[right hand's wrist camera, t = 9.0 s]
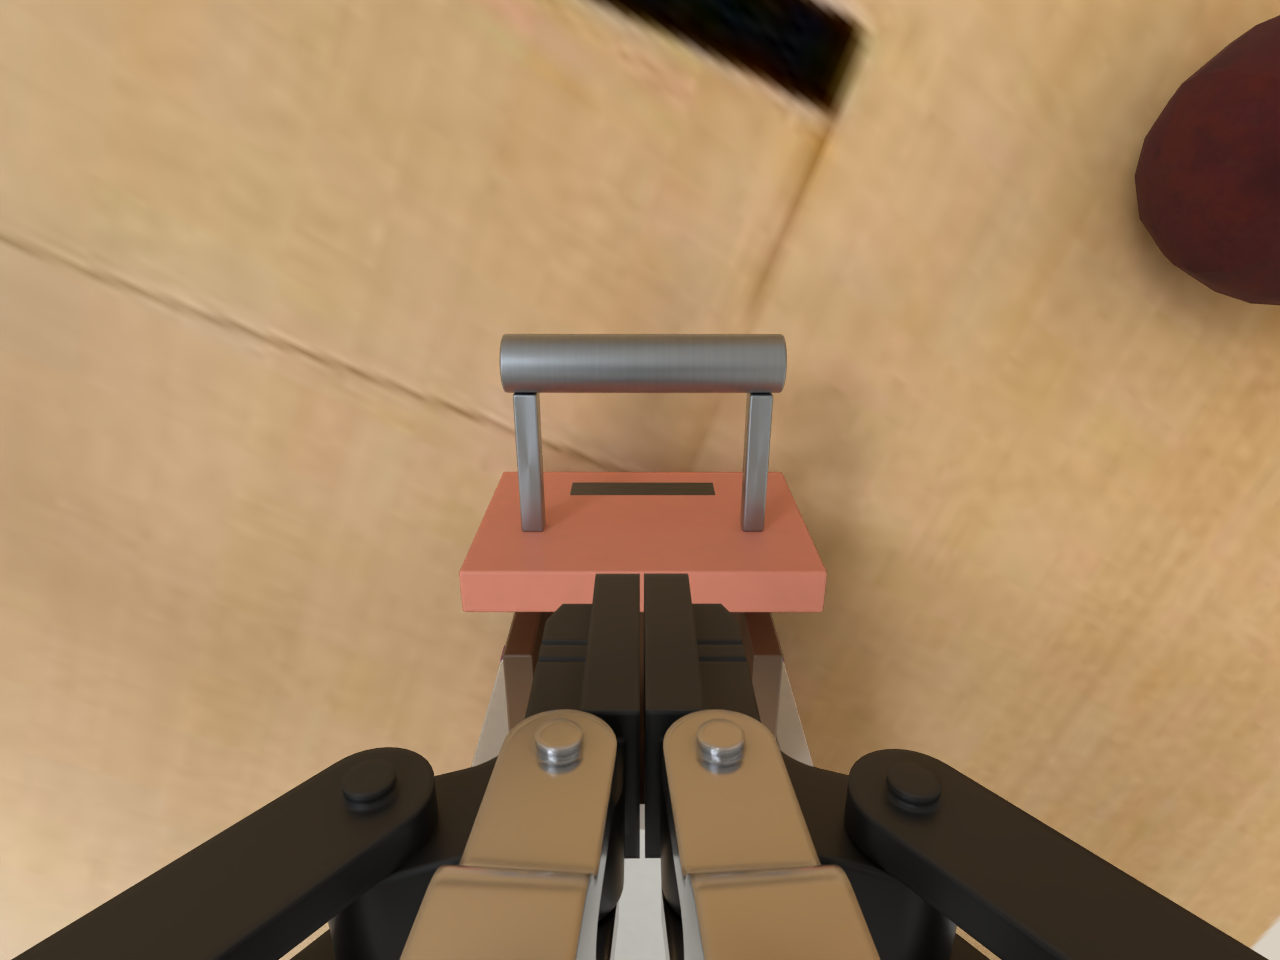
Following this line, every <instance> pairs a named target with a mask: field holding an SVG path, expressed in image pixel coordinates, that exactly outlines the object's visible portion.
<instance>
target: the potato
mask: <svg viewBox="0 0 1280 960" xmlns="http://www.w3.org/2000/svg"><path fill="white" fill-rule="evenodd" d="M1135 183H1136V192H1137V200H1138V209H1139V215H1140V220H1141V221H1142V223H1143V224H1144V226H1145V227H1146V229H1147V230H1148V232H1149V233H1150V235H1151V236H1152V238H1153V239H1154V241H1155V242H1156V244H1157V246H1158V247H1159V249H1160V250H1161V252H1162V253H1163V254H1164V255H1165V256H1166V257H1167V258H1168V259H1169V260H1170V261H1171V262H1172V263H1173V264H1174V265H1175V266H1177V267H1178V268H1180V269H1181V270H1183V271H1184V272H1186V273H1187V274H1189V275H1190V276H1192V277H1194V278H1195V279H1197V280H1198V281H1200V282H1201V283H1203V284H1204V285H1206V286H1207V287H1209V288H1210V289H1212V290H1213V291H1215V292H1218V293H1221V294H1224V295H1227V296H1230V297H1233V298H1236V299H1239V300H1242V301H1245V302H1248V303H1255V304H1270V305H1280V15H1279V16H1277V17H1275V18H1272V19H1270V20H1268V21H1265V22H1263V23H1261V24H1258V25H1256V26H1255V27H1253V28H1252V29H1250V30H1249V31H1247V32H1246V33H1245V34H1243V35H1242V36H1240V37H1239V38H1237V39H1236V40H1235V41H1233V42H1232V43H1230V44H1229V45H1228V46H1227V47H1225V48H1224V49H1223V50H1222V51H1221V52H1219V53H1218V54H1217V55H1216V56H1215V57H1214V58H1212V59H1211V60H1210V61H1209V62H1208V63H1206V64H1205V65H1204V66H1203V67H1202V68H1200V69H1199V70H1198V71H1197V72H1196V73H1194V74H1193V75H1192V76H1191V77H1190V78H1188V79H1187V80H1186V81H1185V82H1184V83H1182V84H1181V86H1180V87H1179V88H1178V90H1177V91H1176V92H1175V94H1174V95H1173V97H1172V98H1171V99H1170V101H1169V102H1168V104H1167V105H1166V107H1165V108H1164V110H1163V111H1162V113H1161V114H1160V116H1159V117H1158V119H1157V120H1156V122H1155V123H1154V125H1153V126H1152V128H1151V130H1150V131H1149V133H1148V134H1147V136H1146V137H1145V139H1144V143H1143V147H1142V151H1141V154H1140V158H1139V162H1138V166H1137V169H1136V173H1135Z"/></svg>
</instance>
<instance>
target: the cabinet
mask: <svg viewBox="0 0 1280 960" xmlns="http://www.w3.org/2000/svg"><path fill="white" fill-rule="evenodd" d="M504 649H505V646H504ZM504 649H503V652H504ZM508 733H509V729H508V717H507V704H506V692H505V680H504V667H503V653H502V656H501V663H500V666H499V670H498V674H497V677H496V681H495V684H494V688H493V691H492V695H491V698H490V702H489V706H488V709H487V713H486V716H485V720H484V723H483V727H482V731H481V734H480V738H479V741H478V745H477V748H476V752H475V755H474V759H473V763H472V766H471V767H474V766H477V765H480V764H482V763H484V762H487V761H489V760H491V759H493V758H494V757H496V756H498V755H499V752H500V749H501V747H502V744H503V742H504V739H505V737H506V736H507V734H508ZM776 742H777V744H778V747H779V749H780V750H781V751H782V752H783V753H785V754H786V755H788V756H789V757H791V758H793V759H795V760H797V761H799V762H802V763H804V764H807V765H809V766H813V762H812V759H811V755H810V752H809V748H808V745H807V741H806V738H805V734H804V731H803V727H802V724H801V720H800V717H799V713H798V710H797V706H796V703H795V699H794V696H793V692H792V688H791V685H790V681H789V678H788V674H787V671H786V667H785V664H784V658H783V664H782V676H781V688H780V700H779V711H778V723H777V735H776ZM813 767H814V766H813ZM614 960H666V956H665V947H664V938H663V929H662V921H661V858H645V804H640V859H624V886H623V891H622V894H621V897H620V899H619V921H618V929H617V938H616V947H615V956H614Z"/></svg>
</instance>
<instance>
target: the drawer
mask: <svg viewBox="0 0 1280 960" xmlns="http://www.w3.org/2000/svg"><path fill="white" fill-rule="evenodd" d="M786 368H787V351H786V343H785V339H784V336H783V335H781V334H505V335H503V337H502V340H501V345H500V375H501V382H502V386H503V389H504V391H505V392H507V393H514V395H513V405H514V420H515V436H516V451H517V466H518V472H504V473H503V475H502V477H501V479H500V481H499V484H498V486H497V488H496V490H495V493H494V495H493V497H492V499H491V502H490V504H489V506H488V508H487V511H486V513H485V515H484V518H483V520H482V522H481V524H480V527H479V529H478V531H477V533H476V536H475V538H474V540H473V542H472V545H471V547H470V549H469V551H468V554H467V556H466V558H465V560H464V563H463V565H462V567H461V569H460V572H459V576H460V586H461V596H462V606H463V610H464V611H465V612H515V613H514V617H513V620H512V624H511V628H510V631H509V635H508V638H507V642H506V645H505V649H504V652H503V667H504V680H505V692H506V704H507V717H508V729H509V732H510V730H511V729H513V728H514V727H515V726H516V725H517V724H518V723H520V722H521V721H523V720H524V719H525V715H526V710H527V706H528V701H529V696H530V692H531V687H532V683H533V678H534V673H535V669H536V664H537V662H538V655H539V650H540V646H541V644H542V637H543V632H544V627H545V623H546V620H547V619H548V618H549V617H550V616H551V615H552V614H553V613H554V612H555V611H556V610H557V609H558V608H559V607H560V606H561V605H562V604H592V601H593V592H594V584H595V575H596V574H640V804H645V794H644V573H688V576H689V584H690V592H691V600H692V604H722V605H723V606H724V607H725V608H726V609H727V610H728V611H729V612H730V613H731V614H732V615H733V616H734V617H735V618H736V619H737V620H738V622H739V627H740V631H741V636H742V640H743V645H744V649H745V653H746V661H747V662H748V667H749V671H750V675H751V680H752V684H753V689H754V693H755V697H756V702H757V706H758V711H759V715H760V720H761V723H762V724H763V725H764V726H765V727H766V728H767V729H769V730H770V732H771V733H772V734H773V736H774V737H775V739H776V735H777V723H778V711H779V700H780V688H781V676H782V664H783V654H782V650H781V647H780V643H779V640H778V636H777V633H776V629H775V626H774V622H773V619H772V615H771V612H822V610H823V606H824V597H825V587H826V578H827V572H826V570H825V567H824V565H823V563H822V561H821V558H820V556H819V554H818V552H817V550H816V547H815V545H814V543H813V541H812V538H811V536H810V534H809V532H808V530H807V527H806V525H805V523H804V521H803V519H802V516H801V514H800V512H799V510H798V507H797V505H796V503H795V501H794V499H793V496H792V494H791V492H790V490H789V487H788V485H787V483H786V481H785V479H784V476H783V474H782V473H781V472H768V464H769V449H770V435H771V420H772V406H773V395H772V393H780V392H781V391H782V390H783V387H784V384H785V378H786ZM539 393H747V405H746V423H745V441H744V459H743V472H543V459H542V440H541V420H540V401H539Z"/></svg>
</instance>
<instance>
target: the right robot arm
mask: <svg viewBox="0 0 1280 960" xmlns="http://www.w3.org/2000/svg"><path fill="white" fill-rule="evenodd" d="M644 794H645V858H661V921H662V929H663V938H664V947H665V956H666V960H990V959H989V958H987V957H986V956H985V955H983V954H982V953H981V952H980V951H978V950H977V949H976V948H974V947H973V946H972V945H971V944H969V943H968V942H967V941H965V940H964V939H963V938H962V937H960V936H959V935H958V934H956V933H955V932H956V927H957V926H958V927H960V928H961V929H962V930H964V931H965V932H966V933H968V934H969V935H970V936H971V937H973V938H974V939H975V940H977V941H978V942H979V943H981V944H982V945H983V946H984V947H986V948H987V949H988V950H990V951H991V952H992V953H994V954H995V955H996V956H997V957H999V958H1000V959H1001V960H1268V959H1266V958H1265V957H1263V956H1262V955H1260V954H1258V953H1257V952H1255V951H1253V950H1252V949H1250V948H1248V947H1247V946H1245V945H1243V944H1242V943H1240V942H1239V941H1237V940H1235V939H1234V938H1232V937H1230V936H1229V935H1227V934H1225V933H1224V932H1222V931H1220V930H1219V929H1217V928H1215V927H1214V926H1212V925H1211V924H1209V923H1207V922H1206V921H1204V920H1202V919H1201V918H1199V917H1197V916H1196V915H1194V914H1192V913H1191V912H1189V911H1187V910H1186V909H1184V908H1183V907H1181V906H1179V905H1178V904H1176V903H1174V902H1173V901H1171V900H1169V899H1168V898H1166V897H1164V896H1163V895H1161V894H1159V893H1158V892H1156V891H1155V890H1153V889H1151V888H1150V887H1148V886H1146V885H1145V884H1143V883H1141V882H1140V881H1138V880H1136V879H1135V878H1133V877H1131V876H1130V875H1128V874H1127V873H1125V872H1123V871H1122V870H1120V869H1118V868H1117V867H1115V866H1113V865H1112V864H1110V863H1108V862H1107V861H1105V860H1103V859H1102V858H1100V857H1099V856H1097V855H1095V854H1094V853H1092V852H1090V851H1089V850H1087V849H1085V848H1084V847H1082V846H1080V845H1079V844H1077V843H1075V842H1074V841H1072V840H1071V839H1069V838H1067V837H1066V836H1064V835H1062V834H1061V833H1059V832H1057V831H1056V830H1054V829H1052V828H1051V827H1049V826H1047V825H1046V824H1044V823H1043V822H1041V821H1039V820H1038V819H1036V818H1034V817H1033V816H1031V815H1029V814H1028V813H1026V812H1024V811H1023V810H1021V809H1019V808H1018V807H1016V806H1015V805H1013V804H1011V803H1010V802H1008V801H1006V800H1005V799H1003V798H1001V797H1000V796H998V795H996V794H995V793H993V792H991V791H990V790H988V789H987V788H985V787H983V786H982V785H980V784H978V783H977V782H975V781H973V780H972V779H970V778H968V777H967V776H965V775H963V774H962V773H960V772H959V771H957V770H955V769H954V768H952V767H950V766H949V765H947V764H945V763H943V762H941V761H940V760H938V759H935V758H933V757H930V756H928V755H925V754H922V753H918V752H914V751H909V750H901V749H885V750H879V751H875V752H872V753H869V754H867V755H865V756H863V757H861V758H860V759H859V760H858V761H856V762H855V764H854V765H853V767H852V768H851V771H850V773H849V775H845V774H840V773H836V772H832V771H828V770H824V769H819V768H816V767H813V766H809V765H807V764H804V763H802V762H799V761H797V760H795V759H793V758H791V757H789V756H788V755H786V754H785V753H783V752H782V751H781V750H780V749H779V747H778V744H777V742H776V739H775V737H774V736H773V734H772V733H771V732H770V730H769V729H767V728H766V727H765V726H764V725H763V724H762V723H761V720H760V715H759V711H758V706H757V702H756V697H755V693H754V689H753V684H752V680H751V675H750V671H749V667H748V662H747V661H746V653H745V649H744V645H743V640H742V636H741V631H740V627H739V622H738V620H737V619H736V618H735V617H734V616H733V615H732V614H731V613H730V612H729V611H728V610H727V609H726V608H725V607H724V606H723V605H722V604H692V600H691V592H690V584H689V576H688V573H644ZM624 859H640V574H596V575H595V584H594V592H593V601H592V604H562V605H561V606H560V607H559V608H558V609H557V610H556V611H555V612H554V613H553V614H552V615H551V616H550V617H549V618H548V619H547V620H546V623H545V627H544V632H543V637H542V644H541V646H540V650H539V655H538V662H537V664H536V669H535V673H534V678H533V683H532V687H531V692H530V696H529V701H528V706H527V710H526V715H525V719H524V720H523V721H521V722H520V723H518V724H517V725H516V726H515V727H514V728H513V729H511V730H510V732H509V733H508V734H507V736H506V737H505V739H504V742H503V744H502V747H501V749H500V752H499V755H498V756H496V757H494V758H493V759H491V760H489V761H487V762H484V763H482V764H480V765H477V766H474V767H470V768H467V769H463V770H459V771H455V772H450V773H446V774H442V775H438V776H434V772H433V769H432V767H431V765H430V764H429V762H428V761H427V760H426V759H425V758H424V757H422V756H421V755H419V754H417V753H416V752H413V751H410V750H407V749H402V748H392V747H385V748H375V749H370V750H365V751H362V752H359V753H355V754H353V755H351V756H348V757H346V758H344V759H342V760H340V761H338V762H336V763H335V764H333V765H331V766H330V767H328V768H326V769H325V770H323V771H321V772H320V773H318V774H317V775H315V776H313V777H312V778H310V779H308V780H307V781H305V782H303V783H302V784H300V785H298V786H297V787H295V788H293V789H292V790H290V791H289V792H287V793H285V794H284V795H282V796H280V797H279V798H277V799H275V800H274V801H272V802H270V803H269V804H267V805H265V806H264V807H262V808H261V809H259V810H257V811H256V812H254V813H252V814H251V815H249V816H247V817H246V818H244V819H242V820H241V821H239V822H237V823H236V824H234V825H233V826H231V827H229V828H228V829H226V830H224V831H223V832H221V833H219V834H218V835H216V836H214V837H213V838H211V839H209V840H208V841H206V842H205V843H203V844H201V845H200V846H198V847H196V848H195V849H193V850H191V851H190V852H188V853H186V854H185V855H183V856H182V857H180V858H178V859H177V860H175V861H173V862H172V863H170V864H168V865H167V866H165V867H163V868H162V869H160V870H158V871H157V872H155V873H154V874H152V875H150V876H149V877H147V878H145V879H144V880H142V881H140V882H139V883H137V884H135V885H134V886H132V887H130V888H129V889H127V890H126V891H124V892H122V893H121V894H119V895H117V896H116V897H114V898H112V899H111V900H109V901H107V902H106V903H104V904H102V905H101V906H99V907H98V908H96V909H94V910H93V911H91V912H89V913H88V914H86V915H84V916H83V917H81V918H79V919H78V920H76V921H74V922H73V923H71V924H70V925H68V926H66V927H65V928H63V929H61V930H60V931H58V932H56V933H55V934H53V935H51V936H50V937H48V938H46V939H45V940H43V941H42V942H40V943H38V944H37V945H35V946H33V947H32V948H30V949H28V950H27V951H25V952H23V953H22V954H20V955H18V956H17V957H15V958H14V959H12V960H279V959H280V958H281V957H283V956H284V955H285V954H286V953H288V952H289V951H290V950H292V949H293V948H294V947H296V946H297V945H298V944H299V943H301V942H302V941H303V940H305V939H306V938H307V937H309V936H310V935H311V934H312V933H314V932H315V931H316V930H318V929H319V928H320V927H322V926H323V925H324V924H326V923H327V922H328V924H329V930H328V931H326V932H325V933H324V934H322V935H321V936H320V937H318V938H317V939H316V940H315V941H313V942H312V943H311V944H309V945H308V946H307V947H306V948H304V949H303V950H302V951H300V952H299V953H298V954H297V955H295V956H294V957H293V958H291V959H290V960H614V956H615V947H616V938H617V929H618V921H619V899H620V897H621V894H622V891H623V886H624Z"/></svg>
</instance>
